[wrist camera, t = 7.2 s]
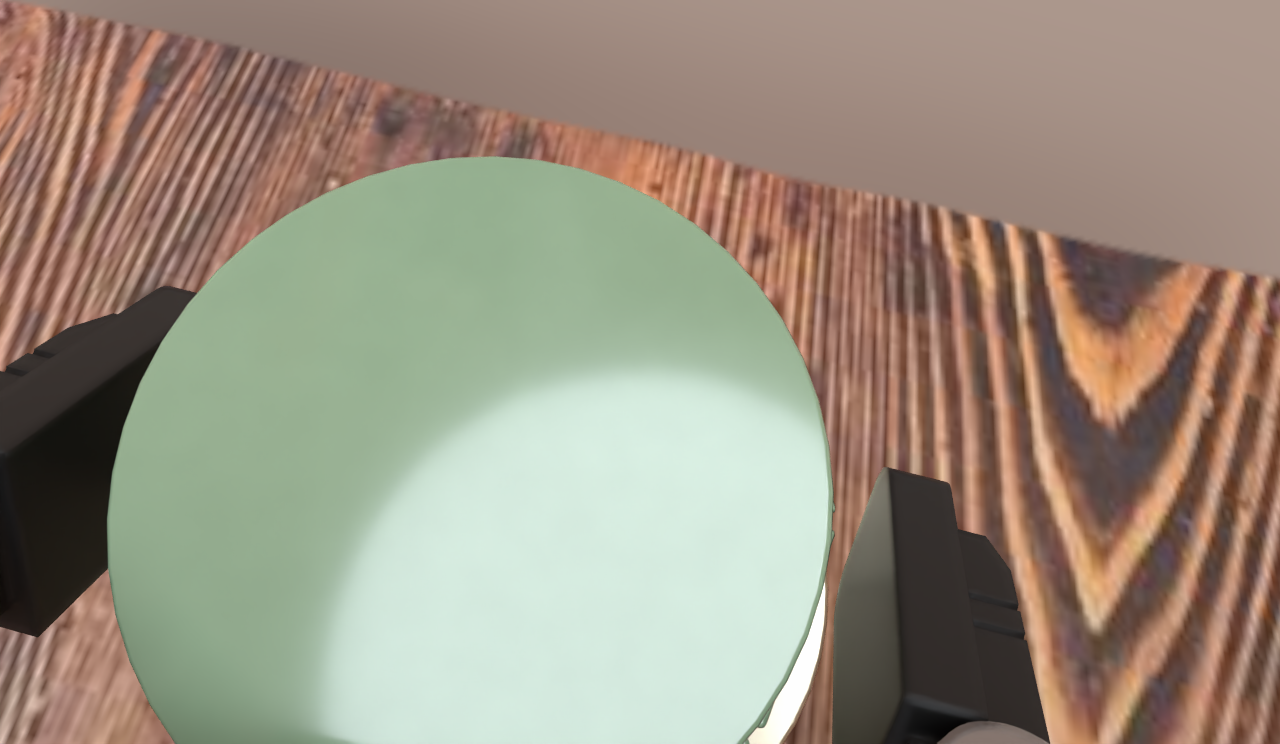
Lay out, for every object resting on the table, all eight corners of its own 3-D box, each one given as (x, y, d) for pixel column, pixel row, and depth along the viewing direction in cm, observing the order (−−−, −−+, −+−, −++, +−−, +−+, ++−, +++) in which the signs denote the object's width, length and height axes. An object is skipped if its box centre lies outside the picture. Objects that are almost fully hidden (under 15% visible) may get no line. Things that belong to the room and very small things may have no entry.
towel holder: (747, 314, 24) (871, -96, 11) (877, 776, 22) (1263, 984, 8) (308, 414, 24) (-129, 107, 10) (381, 904, 21) (-95, 1364, 7)
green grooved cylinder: (688, 350, 18) (726, 82, 10) (783, 715, 17) (935, 787, 8) (348, 428, 18) (74, 221, 9) (410, 810, 16) (142, 992, 8)
